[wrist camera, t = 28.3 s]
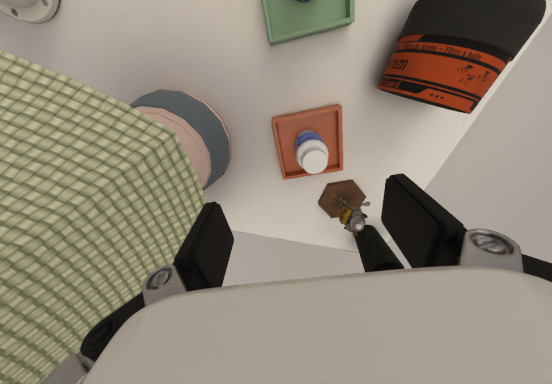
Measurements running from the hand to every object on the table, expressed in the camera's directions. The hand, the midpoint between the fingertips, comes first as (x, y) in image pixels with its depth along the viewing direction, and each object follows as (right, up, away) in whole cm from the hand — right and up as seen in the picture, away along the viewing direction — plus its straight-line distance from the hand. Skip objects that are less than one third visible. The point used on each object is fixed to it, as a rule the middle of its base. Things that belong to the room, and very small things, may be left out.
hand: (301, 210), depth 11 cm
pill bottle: (+5, +11, +28) cm, 30 cm away
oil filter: (+21, +23, +20) cm, 37 cm away
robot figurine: (+14, -1, +35) cm, 38 cm away
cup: (+22, -10, +40) cm, 47 cm away
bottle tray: (+5, +11, +28) cm, 31 cm away
